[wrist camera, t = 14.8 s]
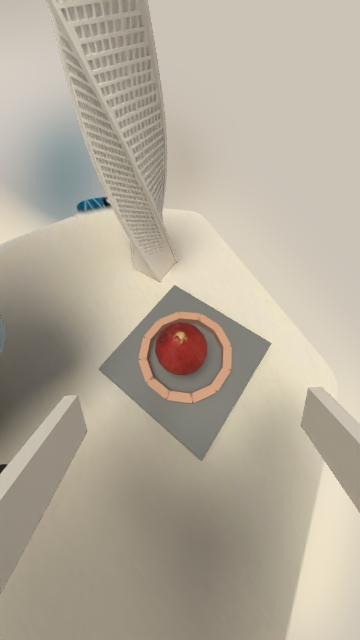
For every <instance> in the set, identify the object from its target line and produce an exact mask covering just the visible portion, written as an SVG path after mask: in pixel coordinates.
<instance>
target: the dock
mask: <svg viewBox="0 0 360 640" xmlns="http://www.w3.org/2000/svg"><path fill="white" fill-rule="evenodd" d="M177 322H184V323H189V324H191V325H194V326H196V327H197V328H198V329H199V330H200V331H201V332H202V333H203V334H204V337H205V339H206V342H207V356H206V358H205V361H204V363H203V365H202V366H201V367H200V368H199V369H198V370H197V371H196V372H194V373H191V374H188V375H175V374H173V373H170V372H168V371H166V370H165V369H164V368H163V367H162V366H161V365H160V363H159V361H158V359H157V356H156V353H155V345H156V339H157V338H158V336H159V334H160V333H161V331H162V330H163V329H165V328H166V327H167V326H168V325H170V324H173V323H177ZM270 345H271V343H270V342H268V341H267V340H265V339H263V338H262V337H260V336H258V335H257V334H255V333H253V332H252V331H250V330H248V329H247V328H245V327H243V326H242V325H240V324H238V323H237V322H235V321H233V320H232V319H230V318H228V317H227V316H225V315H224V314H222V313H220V312H219V311H217V310H215V309H214V308H212V307H210V306H209V305H207V304H205V303H204V302H202V301H200V300H199V299H197V298H195V297H194V296H192V295H190V294H189V293H187V292H185V291H184V290H182V289H180V288H179V287H177V286H175V285H174V286H173V287H172V288H171V290H170V291H169V292H168V293H167V294H166V295H165V296H164V297H163V298H162V299H161V301H160V302H159V303H158V304H157V305H156V306H155V307H154V308H153V309H152V310H151V312H150V313H149V314H148V315H147V316H146V317H145V318H144V319H143V320H142V321H141V323H140V324H139V325H138V326H137V327H136V328H135V329H134V330H133V331H132V332H131V334H130V335H129V336H128V337H127V338H126V339H125V340H124V341H123V342H122V343H121V345H120V346H119V347H118V348H117V349H116V350H115V351H114V352H113V353H112V354H111V356H110V357H109V358H108V359H107V360H106V361H105V362H104V363H103V364H102V365H101V367H100V368H99V370H100V371H101V372H102V373H103V374H105V375H106V376H107V377H108V378H109V379H110V380H111V381H112V382H113V383H115V384H116V385H117V386H118V387H119V388H120V389H121V390H122V391H124V392H125V393H126V394H127V395H128V396H129V397H130V398H131V399H133V400H134V401H135V402H136V403H137V404H138V405H139V406H140V407H141V408H143V409H144V410H145V411H146V412H147V413H148V414H149V415H150V416H152V417H153V418H154V419H155V420H156V421H157V422H158V423H159V424H160V425H162V426H163V427H164V428H165V429H166V430H167V431H168V432H169V433H171V434H172V435H173V436H174V437H175V438H176V439H177V440H178V441H179V442H181V443H182V444H183V445H184V446H185V447H186V448H187V449H188V450H190V451H191V452H192V453H193V454H194V455H195V456H196V457H197V458H198V459H200V460H201V461H202V459H203V458H204V456H205V454H206V453H207V451H208V449H209V447H210V446H211V444H212V442H213V441H214V439H215V437H216V436H217V434H218V432H219V431H220V429H221V427H222V426H223V424H224V422H225V421H226V419H227V417H228V415H229V414H230V412H231V410H232V409H233V407H234V405H235V404H236V402H237V400H238V399H239V397H240V395H241V394H242V392H243V390H244V389H245V387H246V385H247V383H248V382H249V380H250V378H251V377H252V375H253V373H254V372H255V370H256V368H257V367H258V365H259V363H260V362H261V360H262V358H263V357H264V355H265V353H266V351H267V350H268V348H269V346H270Z"/></svg>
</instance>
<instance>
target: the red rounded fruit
mask: <svg viewBox="0 0 360 640" xmlns="http://www.w3.org/2000/svg"><path fill="white" fill-rule="evenodd" d="M155 353H156V356H157V359H158V361H159V363H160V365H161V366H162V367H163V368H164V369H165V370H166V371H168V372H170V373H173V374H175V375H188V374H191V373H194V372H196V371H197V370H198V369H199V368H200V367H201V366H202V365H203V363H204V361H205V358H206V356H207V342H206V339H205V337H204V334H203V333H202V332H201V331H200V330H199V329H198V328H197V327H196V326H194V325H191V324H189V323H184V322H177V323H173V324H170V325H168V326H167V327H166V328H165V329H163V330H162V331H161V333H160V334H159V336H158V338H157V339H156V345H155Z"/></svg>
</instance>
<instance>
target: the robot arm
mask: <svg viewBox="0 0 360 640" xmlns="http://www.w3.org/2000/svg"><path fill="white" fill-rule="evenodd" d="M5 338H6V333H5V326H4V323H3V320H2V317H1V315H0V352H1V351H2V349H3V347H4V344H5ZM301 427H302V428H303V430H304V431H305V433H306V434H307V435H308V437H309V438H310V440H311V441H312V443H313V444H314V446H315V447H316V449H317V450H318V452H319V453H320V455H321V456H322V458H323V459H324V461H325V462H326V463H327V465H328V466H329V468H330V469H331V471H332V472H333V474H334V475H335V477H336V478H337V480H338V481H339V483H340V484H341V486H342V487H343V489H344V490H345V491H346V493H347V494H348V496H349V497H350V499H351V500H352V502H353V503H354V504H355V506H356V507H357V509H358V511H359V512H360V424H359V423H358V422H357V421H356V420H355V419H354V418H353V417H352V416H351V415H350V414H349V413H348V412H347V411H346V410H345V409H344V408H343V407H342V406H341V405H340V404H339V403H338V402H337V401H336V400H335V399H334V398H333V397H332V396H331V395H330V394H328V393H327V392H326V391H325V390H324V389H323V388H322V387H314V388H308V391H307V396H306V401H305V407H304V412H303V417H302V422H301ZM86 433H87V428H86V424H85V421H84V417H83V413H82V409H81V406H80V402H79V398H78V395H68V396H64V397H63V398H62V400H61V401H60V402H59V403H58V404H57V406H56V407H55V408H54V409H53V411H52V412H51V413H50V414H49V415H48V417H47V418H46V419H45V420H44V421H43V423H42V424H41V425H40V426H39V428H38V429H37V430H36V431H35V432H34V434H33V435H32V436H31V437H30V438H29V440H28V441H27V442H26V443H25V444H24V446H23V447H22V448H21V449H20V451H19V452H18V453H17V454H16V455H15V457H14V458H13V459H12V460H11V461H10V463H9V464H1V465H0V594H1V592H2V590H3V589H4V587H5V585H6V583H7V581H8V579H9V577H10V575H11V574H12V572H13V570H14V568H15V566H16V564H17V562H18V560H19V559H20V557H21V555H22V553H23V551H24V549H25V547H26V545H27V544H28V542H29V540H30V538H31V536H32V534H33V532H34V530H35V529H36V527H37V525H38V523H39V521H40V519H41V517H42V515H43V514H44V512H45V510H46V508H47V506H48V504H49V502H50V500H51V499H52V497H53V495H54V493H55V491H56V489H57V487H58V485H59V484H60V482H61V480H62V478H63V476H64V474H65V472H66V471H67V469H68V467H69V465H70V463H71V461H72V459H73V457H74V456H75V454H76V452H77V450H78V448H79V446H80V444H81V442H82V441H83V439H84V437H85V435H86Z"/></svg>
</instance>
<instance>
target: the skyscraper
mask: <svg viewBox="0 0 360 640" xmlns="http://www.w3.org/2000/svg"><path fill="white" fill-rule="evenodd" d="M46 1H47V4H48V8H49V12H50V16H51V21H52V24H53V29H54V33H55V36H56V40H57V44H58V48H59V52H60V56H61V60H62V64H63V68H64V72H65V76H66V80H67V83H68V87H69V90H70V94H71V98H72V102H73V105H74V108H75V112H76V115H77V119H78V122H79V125H80V128H81V131H82V135H83V138H84V141H85V143H86V146H87V149H88V152H89V155H90V158H91V160H92V163H93V166H94V168H95V170H96V173H97V176H98V178H99V180H100V182H101V185H102V187H103V189H104V192H105V194H106V196H107V198H108V200H109V202H110V204H111V206H112V208H113V210H114V212H115V214H116V216H117V218H118V219H119V221H120V223H121V225H122V227H123V228H124V230H125V232H126V233H127V235H128V237H129V239H130V244H131V251H132V259H133V266H134V270H138V271H140V272H142V273H144V274H146V275H148V276H150V277H152V278H154V279H156V280H158V282H160V283H161V280H162V279H163V277H164V276H165V275H166V274H167V272H168V271H169V270H170V269H171V267H172V266H173V265H174V264H175V262H176V263H177V258H176V256H175V253H174V250H173V247H172V245H171V242H170V239H169V237H168V234H167V232H166V229H165V227H164V224H163V219H162V210H163V203H164V196H165V188H166V174H167V136H166V123H165V112H164V104H163V96H162V88H161V81H160V74H159V68H158V60H157V54H156V48H155V42H154V36H153V30H152V24H151V19H150V13H149V6H148V1H147V0H46Z"/></svg>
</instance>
